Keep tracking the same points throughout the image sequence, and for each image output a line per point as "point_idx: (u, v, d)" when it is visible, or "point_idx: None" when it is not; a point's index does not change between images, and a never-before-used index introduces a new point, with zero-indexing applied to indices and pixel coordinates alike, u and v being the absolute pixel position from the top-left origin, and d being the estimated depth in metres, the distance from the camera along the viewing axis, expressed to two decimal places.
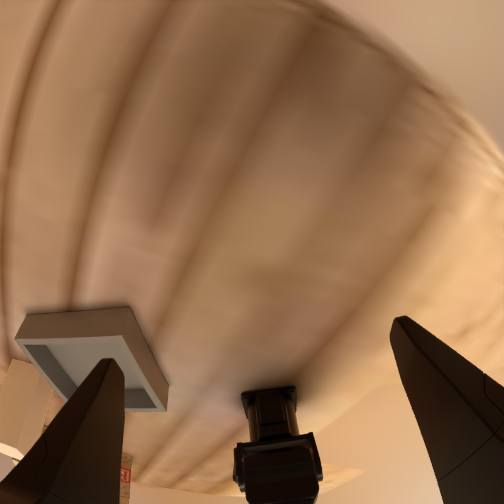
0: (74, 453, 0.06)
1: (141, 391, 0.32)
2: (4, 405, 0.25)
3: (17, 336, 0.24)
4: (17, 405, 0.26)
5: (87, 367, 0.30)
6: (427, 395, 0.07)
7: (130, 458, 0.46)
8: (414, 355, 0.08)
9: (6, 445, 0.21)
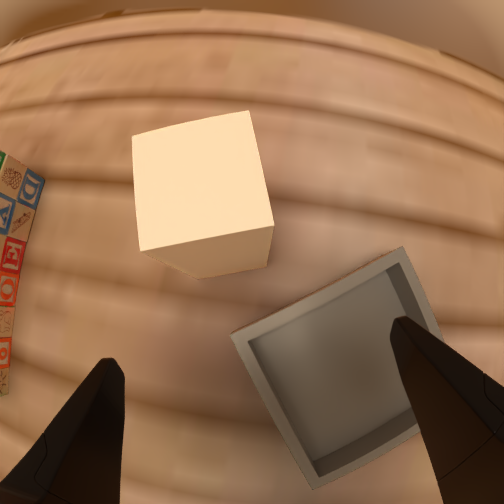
0: (74, 453, 0.06)
1: (301, 441, 0.20)
2: None
3: None
4: None
5: (326, 356, 0.21)
6: (427, 395, 0.07)
7: (4, 392, 0.21)
8: (414, 355, 0.08)
9: (257, 186, 0.12)
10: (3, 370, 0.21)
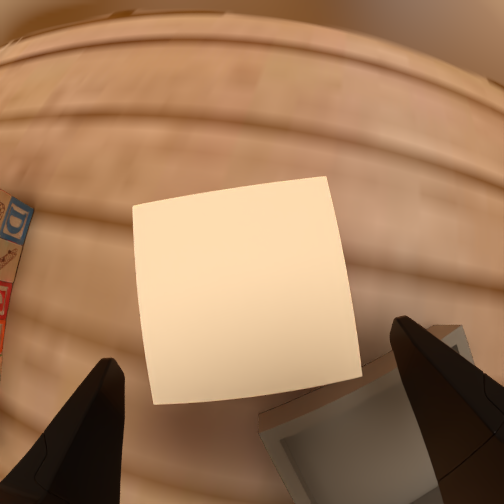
0: (74, 453, 0.06)
1: None
2: None
3: None
4: None
5: (362, 442, 0.16)
6: (427, 395, 0.07)
7: None
8: (414, 355, 0.08)
9: (341, 314, 0.07)
10: None
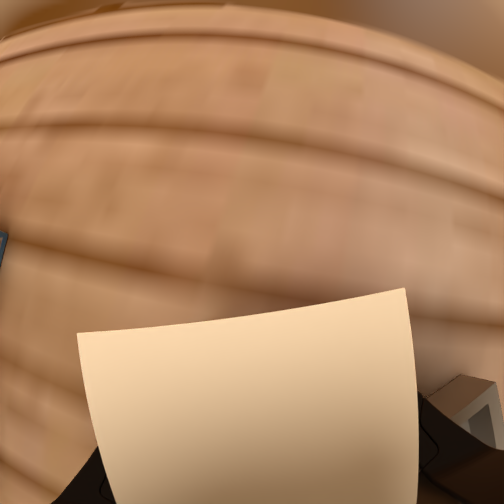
0: None
1: None
2: None
3: None
4: None
5: None
6: None
7: None
8: None
9: (401, 490, 0.04)
10: None
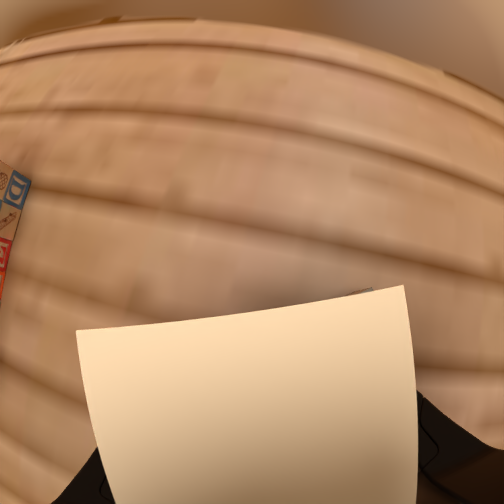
0: None
1: None
2: None
3: None
4: None
5: None
6: None
7: None
8: None
9: (401, 489, 0.04)
10: None
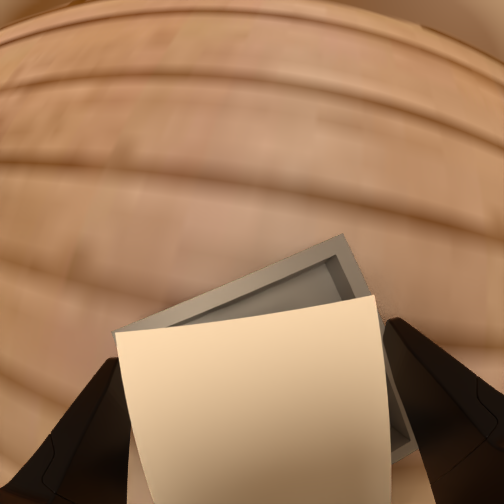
0: (82, 454, 0.06)
1: None
2: None
3: None
4: None
5: None
6: (420, 398, 0.07)
7: None
8: (406, 357, 0.08)
9: (377, 459, 0.05)
10: None
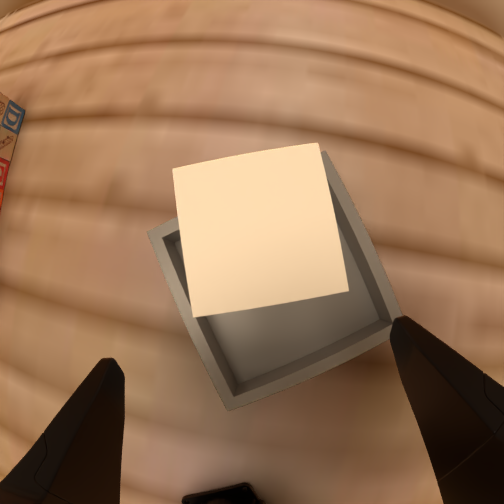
0: (74, 453, 0.06)
1: (223, 358, 0.21)
2: None
3: None
4: None
5: None
6: (427, 395, 0.07)
7: None
8: (414, 355, 0.08)
9: (331, 243, 0.10)
10: None
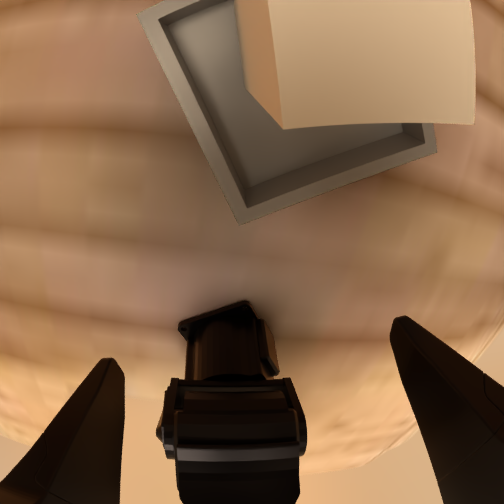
0: (74, 453, 0.06)
1: (229, 159, 0.18)
2: None
3: None
4: None
5: None
6: (427, 395, 0.07)
7: None
8: (414, 355, 0.08)
9: (466, 64, 0.05)
10: None
